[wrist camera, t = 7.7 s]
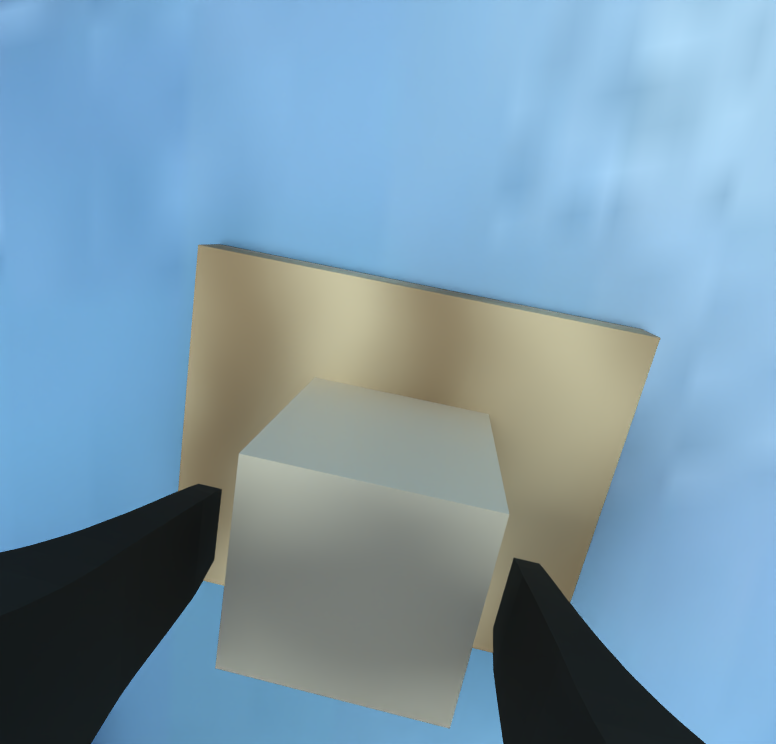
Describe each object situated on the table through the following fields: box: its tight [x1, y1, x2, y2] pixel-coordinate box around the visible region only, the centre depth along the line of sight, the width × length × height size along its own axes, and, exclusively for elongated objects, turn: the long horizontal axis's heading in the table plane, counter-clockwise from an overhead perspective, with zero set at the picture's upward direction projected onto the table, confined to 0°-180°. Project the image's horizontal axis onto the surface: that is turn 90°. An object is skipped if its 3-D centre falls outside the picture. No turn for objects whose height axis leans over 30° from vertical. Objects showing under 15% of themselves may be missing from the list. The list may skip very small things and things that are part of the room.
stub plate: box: [178, 244, 660, 653], centre depth 16 cm, size 14×12×5 cm
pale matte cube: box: [215, 377, 509, 728], centre depth 14 cm, size 6×6×6 cm
